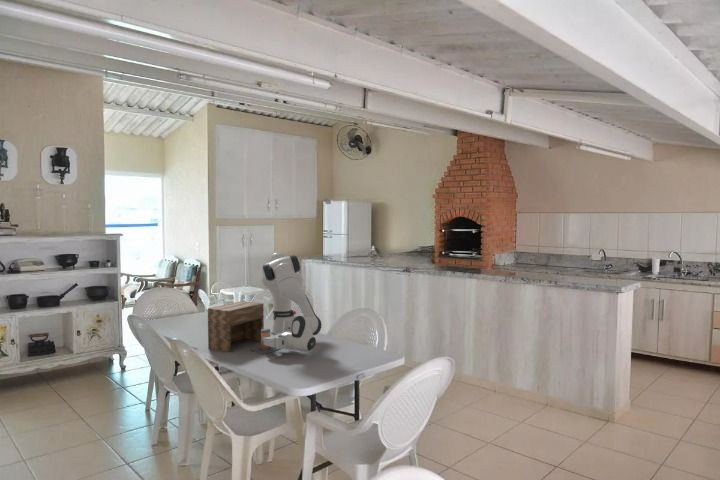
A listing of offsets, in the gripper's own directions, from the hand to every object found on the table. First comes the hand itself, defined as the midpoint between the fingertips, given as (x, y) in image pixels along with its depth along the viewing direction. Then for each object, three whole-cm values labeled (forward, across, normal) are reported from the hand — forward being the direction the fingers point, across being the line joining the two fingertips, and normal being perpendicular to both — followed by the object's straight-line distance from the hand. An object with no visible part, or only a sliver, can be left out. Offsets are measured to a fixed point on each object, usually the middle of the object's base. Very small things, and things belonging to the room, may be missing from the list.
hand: (268, 336), depth 283 cm
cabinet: (+25, 0, +8) cm, 26 cm away
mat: (+3, 0, +8) cm, 8 cm away
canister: (+3, 0, +8) cm, 8 cm away
